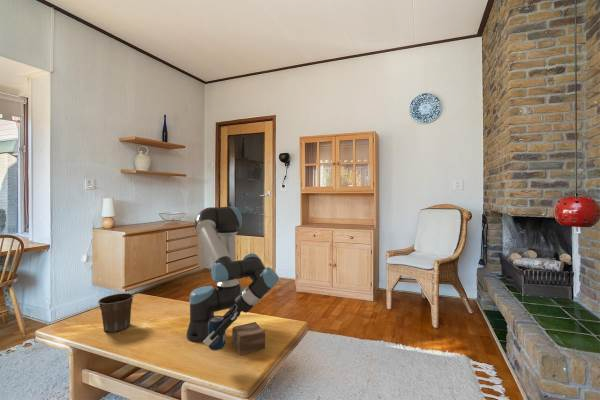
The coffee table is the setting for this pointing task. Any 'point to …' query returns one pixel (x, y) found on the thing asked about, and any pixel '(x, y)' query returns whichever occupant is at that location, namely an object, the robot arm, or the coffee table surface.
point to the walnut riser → (248, 338)
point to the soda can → (212, 325)
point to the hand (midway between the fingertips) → (208, 338)
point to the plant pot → (116, 311)
